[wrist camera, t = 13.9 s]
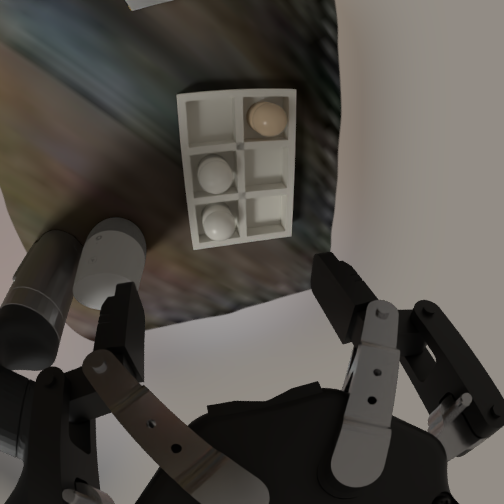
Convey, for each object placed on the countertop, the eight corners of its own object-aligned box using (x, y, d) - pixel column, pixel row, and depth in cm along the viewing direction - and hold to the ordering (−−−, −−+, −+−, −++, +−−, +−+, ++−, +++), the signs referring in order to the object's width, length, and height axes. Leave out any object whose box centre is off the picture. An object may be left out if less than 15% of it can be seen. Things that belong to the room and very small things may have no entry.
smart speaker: (104, 269, 44) (89, 332, 33) (81, 221, 39) (53, 278, 27) (155, 254, 45) (153, 317, 34) (136, 203, 40) (122, 257, 28)
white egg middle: (198, 186, 40) (201, 201, 35) (195, 156, 38) (198, 167, 33) (229, 182, 41) (236, 196, 36) (227, 152, 38) (235, 163, 34)
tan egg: (246, 132, 37) (256, 140, 33) (245, 101, 35) (256, 104, 30) (277, 131, 38) (292, 139, 34) (277, 101, 36) (292, 104, 31)
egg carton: (192, 239, 45) (193, 249, 43) (176, 94, 33) (176, 94, 30) (284, 226, 48) (291, 236, 45) (287, 88, 36) (296, 89, 33)
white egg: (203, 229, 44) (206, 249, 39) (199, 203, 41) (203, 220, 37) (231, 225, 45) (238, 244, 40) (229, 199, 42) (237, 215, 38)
